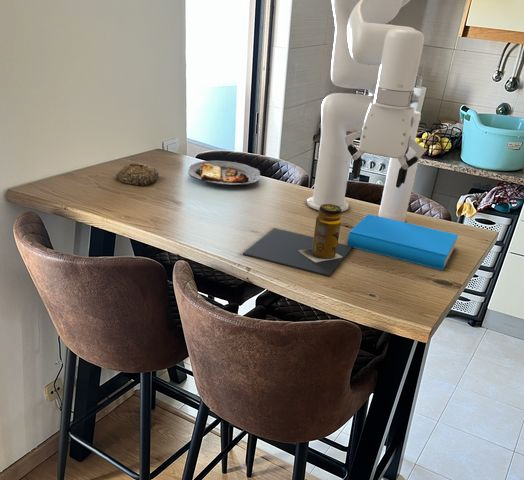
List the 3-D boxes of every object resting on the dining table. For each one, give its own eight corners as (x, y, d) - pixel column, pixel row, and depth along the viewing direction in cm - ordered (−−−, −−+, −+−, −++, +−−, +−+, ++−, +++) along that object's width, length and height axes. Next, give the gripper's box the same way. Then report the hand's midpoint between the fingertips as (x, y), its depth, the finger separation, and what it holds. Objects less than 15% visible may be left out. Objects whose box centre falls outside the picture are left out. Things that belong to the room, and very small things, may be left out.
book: (367, 213, 156) (458, 233, 148) (364, 228, 158) (454, 248, 150) (348, 232, 143) (447, 254, 135) (346, 248, 145) (443, 271, 137)
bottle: (384, 214, 169) (406, 107, 153) (408, 221, 166) (434, 113, 149) (372, 220, 164) (394, 110, 147) (397, 228, 160) (422, 116, 144)
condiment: (342, 257, 138) (351, 210, 131) (315, 263, 134) (322, 214, 127) (324, 246, 143) (331, 200, 136) (297, 251, 139) (303, 204, 132)
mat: (274, 229, 151) (274, 228, 151) (352, 248, 145) (353, 246, 144) (242, 254, 135) (242, 253, 135) (329, 276, 129) (329, 275, 129)
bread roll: (163, 177, 182) (163, 161, 179) (148, 187, 172) (147, 171, 169) (126, 171, 184) (125, 156, 181) (109, 181, 173) (108, 165, 171)
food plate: (258, 193, 176) (259, 182, 174) (184, 186, 175) (184, 175, 173) (260, 171, 197) (260, 161, 195) (193, 165, 196) (193, 155, 194)
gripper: (438, 102, 115) (419, 185, 125) (357, 90, 120) (344, 170, 130) (432, 107, 109) (412, 193, 119) (347, 94, 115) (334, 178, 124)
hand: (377, 181), depth 124 cm, fingers open, 9 cm apart
